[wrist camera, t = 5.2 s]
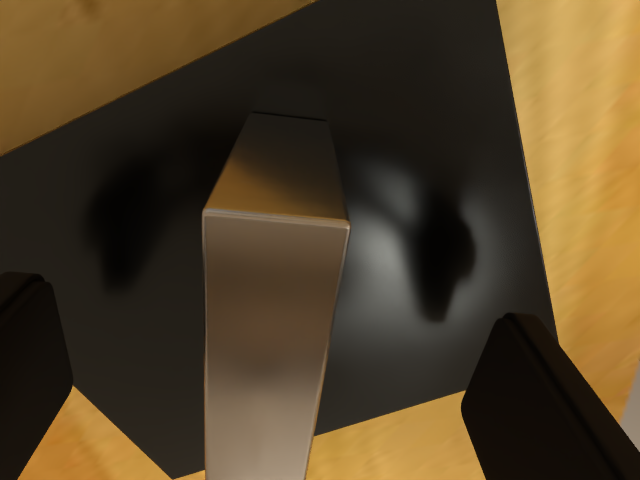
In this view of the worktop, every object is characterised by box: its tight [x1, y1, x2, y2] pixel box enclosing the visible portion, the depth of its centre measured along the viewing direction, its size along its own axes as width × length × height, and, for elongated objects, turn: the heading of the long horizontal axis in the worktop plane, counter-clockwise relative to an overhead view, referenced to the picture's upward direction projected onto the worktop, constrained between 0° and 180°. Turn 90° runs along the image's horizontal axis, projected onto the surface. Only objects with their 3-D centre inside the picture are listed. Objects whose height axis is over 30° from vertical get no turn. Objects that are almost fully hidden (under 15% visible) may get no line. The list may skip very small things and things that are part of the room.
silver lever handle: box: [201, 113, 352, 480], centre depth 8 cm, size 9×2×5 cm, turn 173°
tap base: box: [0, 0, 559, 479], centre depth 12 cm, size 13×11×3 cm
